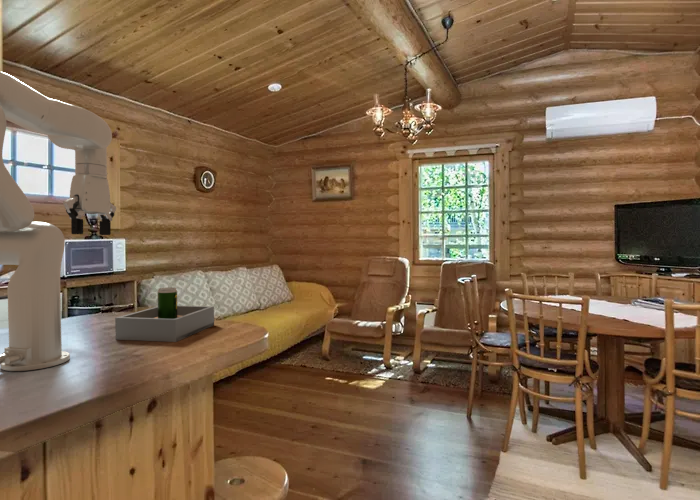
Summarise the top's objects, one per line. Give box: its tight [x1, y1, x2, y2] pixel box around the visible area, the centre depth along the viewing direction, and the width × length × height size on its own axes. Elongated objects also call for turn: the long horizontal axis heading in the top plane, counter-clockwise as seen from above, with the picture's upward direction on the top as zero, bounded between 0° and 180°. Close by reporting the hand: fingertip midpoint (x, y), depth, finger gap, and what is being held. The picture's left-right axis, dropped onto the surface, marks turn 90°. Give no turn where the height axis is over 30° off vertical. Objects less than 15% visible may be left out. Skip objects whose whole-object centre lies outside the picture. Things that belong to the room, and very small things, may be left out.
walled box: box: [114, 305, 215, 343], centre depth 129 cm, size 22×18×6 cm
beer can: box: [156, 286, 178, 319], centre depth 128 cm, size 5×5×12 cm
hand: (91, 234), depth 120 cm, fingers open, 9 cm apart
